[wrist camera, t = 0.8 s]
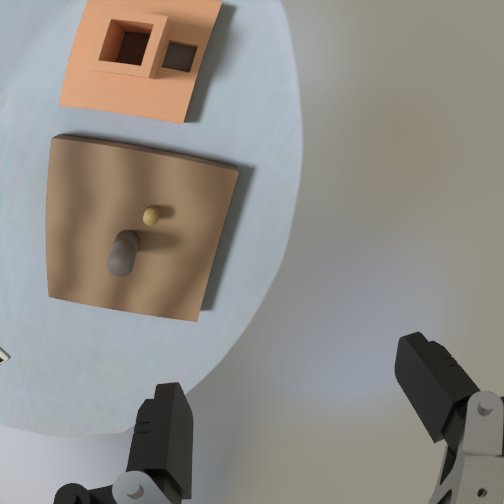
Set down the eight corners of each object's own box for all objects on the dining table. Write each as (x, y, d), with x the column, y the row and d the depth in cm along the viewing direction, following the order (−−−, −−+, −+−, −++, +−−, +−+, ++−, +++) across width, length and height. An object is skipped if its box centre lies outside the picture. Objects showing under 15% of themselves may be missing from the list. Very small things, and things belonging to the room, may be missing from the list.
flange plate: (64, 104, 23) (38, 110, 18) (98, -12, 18) (79, -31, 13) (183, 122, 27) (182, 131, 22) (220, 6, 22) (228, -13, 17)
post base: (53, 286, 32) (37, 322, 27) (59, 134, 25) (30, 148, 19) (196, 311, 38) (199, 349, 32) (235, 166, 30) (248, 186, 25)
